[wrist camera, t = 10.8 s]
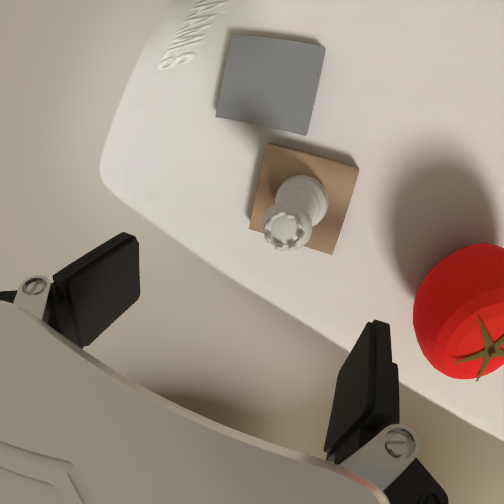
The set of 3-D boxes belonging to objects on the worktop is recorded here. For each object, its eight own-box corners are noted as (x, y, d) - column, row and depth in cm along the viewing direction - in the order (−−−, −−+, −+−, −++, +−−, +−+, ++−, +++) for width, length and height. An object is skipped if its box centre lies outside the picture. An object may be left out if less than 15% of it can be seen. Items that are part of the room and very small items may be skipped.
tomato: (433, 345, 27) (446, 418, 18) (386, 273, 26) (397, 346, 17) (516, 291, 22) (554, 352, 13) (482, 204, 20) (539, 250, 11)
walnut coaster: (269, 143, 25) (266, 144, 24) (358, 168, 23) (359, 170, 22) (252, 224, 28) (248, 228, 27) (332, 249, 27) (332, 255, 26)
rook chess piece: (286, 228, 26) (261, 270, 19) (271, 181, 25) (238, 206, 18) (334, 218, 24) (328, 258, 18) (321, 168, 23) (309, 188, 16)
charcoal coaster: (236, 37, 21) (232, 34, 20) (325, 50, 20) (324, 46, 19) (221, 116, 25) (215, 116, 24) (306, 135, 23) (304, 135, 22)
